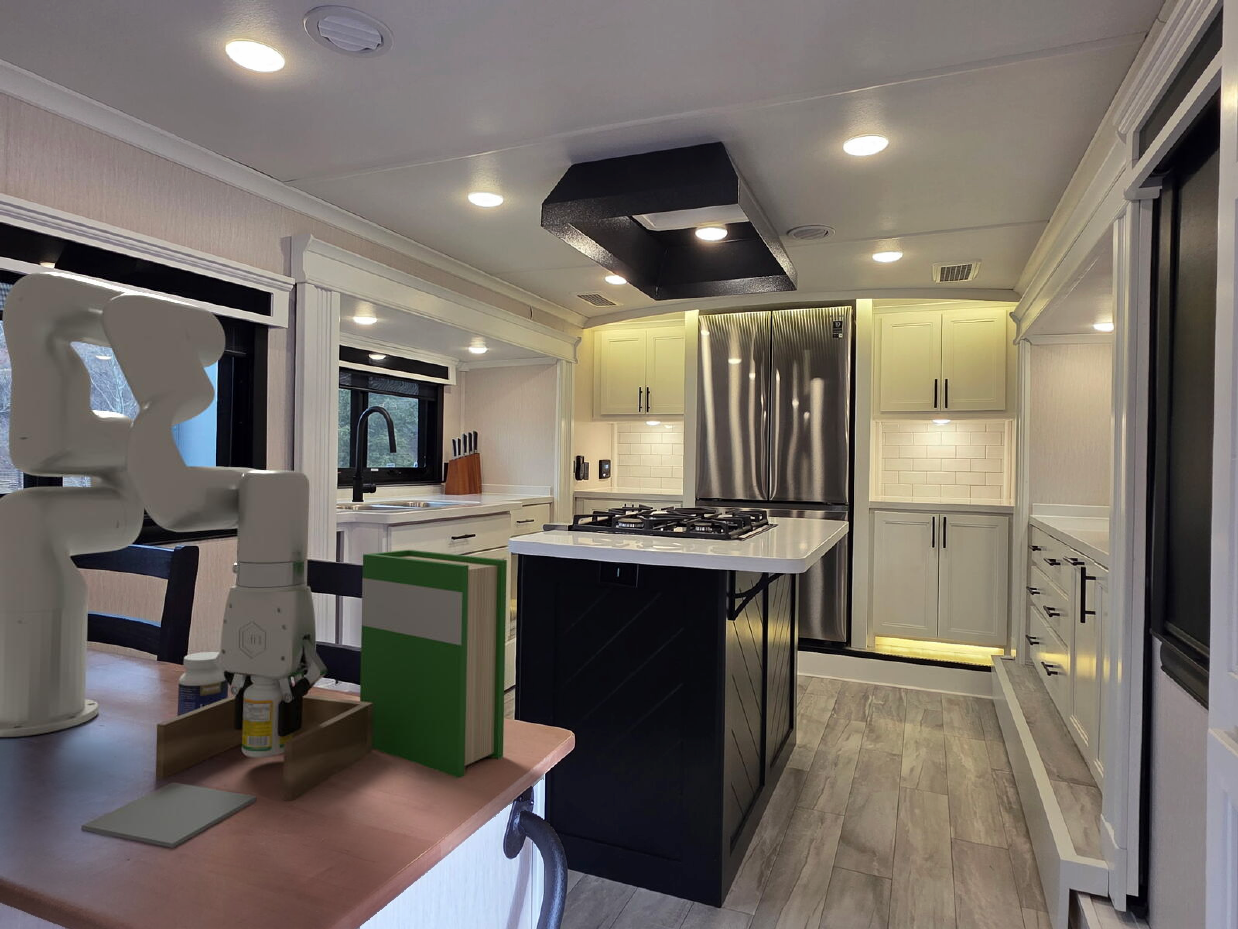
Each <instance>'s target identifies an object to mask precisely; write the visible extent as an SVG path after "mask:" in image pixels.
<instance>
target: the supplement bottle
mask: <svg viewBox="0 0 1238 929" xmlns="http://www.w3.org/2000/svg"><path fill="white" fill-rule="evenodd" d="M251 681H252V682H253V684H252V685H250V686H249V687H248V688H247V689H246V690H245V692H244V701H243V732H242V743H241V751H242V753H243V754H244V755H245V756H246V757H250V758H268V757H274V756H277V755H280V754H284V742H285V741H287V740H290V739H292V738H293V737H292V736H293V733H291V734H289V735H287V736H285V737H281V736H279V735H278V706H279V702H281V701H284V699H283V695H282V691H281V686H280V682H279V679H275V678H266V677H257V676H251Z"/></svg>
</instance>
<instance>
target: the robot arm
mask: <svg viewBox="0 0 1238 929" xmlns="http://www.w3.org/2000/svg"><path fill="white" fill-rule="evenodd" d="M3 304H4V306H3V312H2V329H3V330H2V331H3V337H4V341H5V345H6V350H7V352H8V357H9V363H10V368H11V369H10V370H11V371H10V372H11V374H10V375H11V384H10V397H9V398H10V399H9V400H10V401H9V403H10V404H9V405H10V406H9V425H8V426H9V427H8V452H9V459H10V461H11V463H12V465H13V466H14V468H16V470H18V471H19V472H21V473H23V474H27V475H30V476H36V477H50V478H51V477H54V478H56V477H57V478H61V477H62V478H75V477H76V478H89V481H90V482H89V483H90V486H73V485H72V486H71V485H70V486H33V487H27V488H21V489H17V490H13V491H12V492H9V493H7V494H5V495H3V496H2V497H0V738H14V737H15V738H16V737H27V736H35V735H41V734H47V733H48V734H49V733H51V732H52V733H53V732H56V731H60V730H65V729H68V728H71V727H75V726H78V725H81V724H83V723H86V722H87V721H90V720H91V719H93V718H95V717H96V716H97V715H98V714H99V710H100V709H99V708H100V705H99V702H97V701H95V700H92V699H87V698H86V687H87V685H86V682H87V653H88V652H87V651H88V650H87V648H88V647H87V645H88V644H87V643H88V610H89V609H88V607H89V606H88V603H89V602H88V600H89V599H88V596H89V592H88V590H89V589H88V584H87V581H86V579H85V577H84V575H83V574H82V572H81V571H80V570H79V568H78V567H77V565H75V563H74V562H73V560H72V559H71V556H76V555H77V556H79V555H85V554H86V555H87V554H96V553H105V552H106V553H107V552H113V551H118V550H122V549H125V548H127V547H129V546H130V545H132V544H133V543H134V542H135V541H136V540H137V539H138V537H139V536H140V534H141V531H142V527H143V523H144V516H145V514H144V513H145V511H146V513H147V514H148V515H149V517H150V519H152V520H153V521H154V522H155V523H156V525H158V526H160V527H161V528H163V529H165V530H168V531H171V532H176V533H185V532H186V533H188V532H199V531H212V530H215V531H216V530H231V529H237V540H236V542H237V543H236V562H235V563H234V564H233V565H232V568H231V569H232V573H234V574H235V575H236V578H235V579H236V581H235V584H236V585H233V586H230V589H229V592H228V595H227V599H226V603H225V608H224V613H223V617H222V618H223V619H222V627H221V636H220V647H219V648H220V649H219V652H220V653H219V655H218V656H217V657H216V658H215V664H216V666H217V667H218V668H219V669H220V670H221V672H222V673H224V677H225V679H226V680H227V682H228V686H230V689H229V691H230V694H231V695H232V696H234V695H236V696H235V719H234V729H235V730H242V729H243V701H244V692H245V690H246V689H247V688H248V687H249V686H250V685H252V684H253V682H252V681H251V676H257V677H266V678H275V679H279V682H280V686H281V691H282V695H283V699H284V701H281V702H279V706H278V735H279V736H281V737H285V736H287V735H289V734H291V733H293V732H295V731H297V730H299V729H300V728H301V726H302V707H303V696H305V695H309V691H310V690H312V688H313V687H314V686H315V685H316V683H318V681H320V680H321V679H322V678H323V677H324V676H325V675H327V674H328V668H327V667H326V665H325V664H324V662H323V660H322V659H321V658H320V655H319V654H318V653H317V643H316V642H317V633H316V632H317V631H316V627H317V626H316V616H315V606H314V599H313V594H312V590H311V586H309V585H308V550H309V549H308V548H309V547H308V546H309V542H308V541H309V518H310V517H309V514H310V513H309V512H310V510H309V509H310V481H309V478H308V477H307V475H306V474H304V472H302V471H297V470H280V469H279V470H278V469H275V470H274V469H263V470H262V469H256V468H251V467H235V466H234V467H233V466H228V467H227V466H226V467H225V466H205V465H203V466H198V465H197V466H195V465H187V464H186V462H185V460H184V458H183V457H182V454H181V452H180V450H179V449H178V447H177V444H176V442H175V441H176V440H175V438H174V434H173V429H172V427H174V426H177V425H179V424H182V423H184V422H187V421H189V420H192V419H194V418H195V417H197V416H199V415H201V414H202V413H204V412H205V411H206V410H207V409H208V408H209V407H210V406H211V405H212V403H213V402H214V400H215V395H216V394H215V393H216V392H215V391H216V390H215V388H214V385H213V383H212V381H211V379H210V377H209V376H208V374H207V371H206V369H205V368H209V367H210V366H213V365H215V364H216V363H217V362H218V361H219V360H220V359H221V358H222V356H223V354H224V351H225V348H226V335H225V330H224V329H223V326H222V324H221V323H220V321H219V318H217V317H216V316H215V315H214V314H213V313H212V312H211V311H209V310H208V309H206V308H204V307H202V306H199V305H195V304H190V303H188V302H183V301H179V300H175V299H171V298H168V297H163V296H160V295H157V294H156V295H155V294H151V293H150V294H149V293H146V292H145V293H143V292H138V291H134V290H131V289H127V288H123V287H119V286H115V285H111V284H108V283H104V282H100V281H97V280H93V279H88V278H85V277H81V276H77V275H71V274H66V273H58V272H47V271H46V272H45V271H43V272H35V273H30V274H26V275H25V276H23V277H21V278H19V279H18V280H17V281H16V282H15V283H14V284H13V286H12V287H11V289H10V290H9V292H8V294H7V296H6V298H5V301H4V303H3ZM74 342H75V343H81V344H88V345H91V346H92V345H93V346H97V347H103V348H109V349H111V351H112V353H113V355H114V357H115V359H116V362H117V364H118V366H119V368H120V370H121V372H122V374H123V376H124V378H125V380H126V383H127V385H128V387H129V389H130V392H131V394H132V395H133V397H134V400H135V401H136V402H135V403H136V404H137V406H138V409H139V411H138V413H137V415H136V417H134V419H132V418H131V417H129V416H127V415H126V414H123V413H118V412H114V411H105V410H93V409H92V405H91V404H92V403H91V392H92V381H91V380H92V379H91V374H90V372H89V369H88V367H87V366H86V363H85V362H84V360H83V358H82V357H81V355H80V354H79V353H78V352H77V351H76V349H75V348H74V347H73V346H72V345H71V344H72V343H74ZM304 670H305V671H306V670H307V673H306V674H305V671H304ZM292 680H293V682H294V685H293V682H292Z"/></svg>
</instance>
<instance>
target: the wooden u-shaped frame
mask: <svg viewBox="0 0 1238 929" xmlns="http://www.w3.org/2000/svg"><path fill="white" fill-rule="evenodd" d="M235 696H236V695H232V696H230V697H229V696H228V698H226V699H223V700H221V701H218V702H215V703H213V704H210V705H207V706H204V707H202V708H199V709H196V710H194V711H191V712H188V713H186V714H183V715H180V716H175V717H172V718H170V719H167V720H165V721H161V722H159V723H157V724H156V748H155V749H156V753H155V755H156V756H155V779H158V778H159V780H164V778H165V779H167V778H169V777H172V776H174V775H176V774H177V773H180V772H182V771H185V770H187V769H189V768H192V767H193V766H195V765H197V764H199V763H202V762H204V761H206V760H208V759H211V758H212V756H213V757H215V756H217V755H219V754H221V753H223V752H226V751H228V750H230V749H231V748H235V747H236V746H239V745H242V732H243V729H242V730H235V729H234V719H235ZM372 720H373V703H370V702H362V701H360V700H353V699H352V700H351V699H343V698H337V697H336V698H335V697H326V696H321V695H320V696H319V695H309V694H307V695H305V696H303V707H302V726H301V728H300V729H299V730H297V731H295V732H293V736H292V737H293V738H292V739H290V740H287V741H285V742H284V752H283V774H282V775H283V778H282V780H283V781H282V800H283V801H289V802H291V801H293V800H295V799H296V798H298V797H299V796H302V795H303V794H305V793H306V792H309V791H310V790H312V789H314V787H316V786H318V785H320V784H321V783H323V782H324V781H326V780H328V779H329V778H331V777H332V776H334V775H336V774H338V773H339V772H341V771H343V770H344V769H346V768H348V767H349V766H351V765H352V764H354V763H356V762H357V761H359V760H360V759H362V758H364V757H366V756H367V755H369V754H371V753H373V748H372ZM210 757H211V758H210ZM203 760H204V761H203ZM196 763H197V764H196ZM188 767H189V768H188ZM175 773H176V774H175ZM166 777H167V778H166Z"/></svg>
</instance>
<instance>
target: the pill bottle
mask: <svg viewBox="0 0 1238 929" xmlns="http://www.w3.org/2000/svg"><path fill="white" fill-rule="evenodd" d="M219 653H220V651H219V652H217V651H205V652H204V651H203V652H196V653H191V654H188V655H185V656H184V657H183V668H184V669H185V672H184V673H183V674H182V675H180V677H179V679H178V689H177V690H178V692H177V693H178V694H177V716H180V715H183V714H186V713H188V712H191V711H194V710H196V709H199V708H202V707H204V706H207V705H210V704H213V703H215V702H218V701H221V700H223V699H226V698H229V683H228V682H227V680H226V679H225V677H224V673H222V672H221V670H220V669H219V668H218V667H217V666H216V664H215V658H216V657H217V656H218V655H219ZM177 716H176V717H177Z"/></svg>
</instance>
